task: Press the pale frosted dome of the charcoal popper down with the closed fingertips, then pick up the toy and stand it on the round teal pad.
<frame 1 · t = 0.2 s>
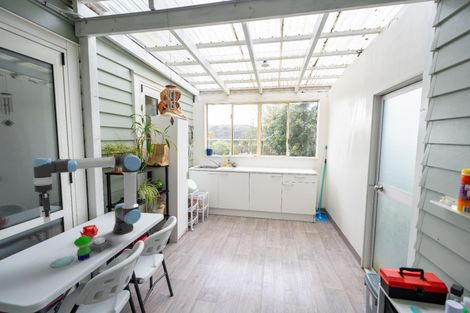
hand: (45, 219, 116), 28 cm above the table, fingers open, 13 cm apart
dome: (99, 241, 136), point 5 cm above the table, slide at 0.0 cm
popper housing: (100, 248, 136), on the table
pad: (63, 262, 120), on the table
toy: (83, 259, 123), on the table
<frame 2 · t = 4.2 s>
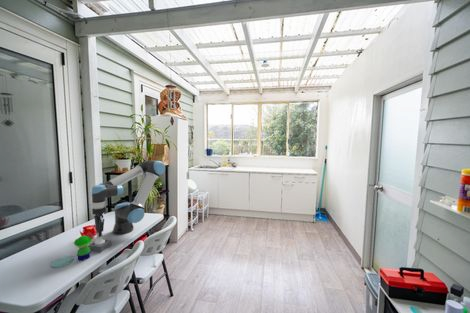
hand: (99, 240, 136), 5 cm above the table, fingers closed
dome: (99, 242, 136), point 4 cm above the table, slide at 1.0 cm, touching gripper
everything else where it was.
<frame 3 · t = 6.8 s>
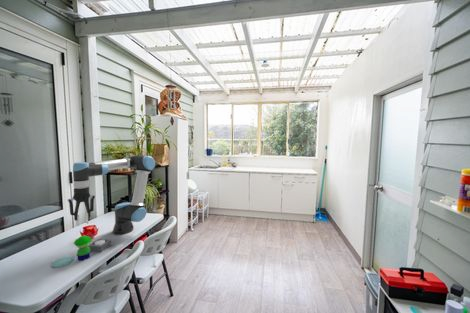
hand: (82, 223, 122), 23 cm above the table, fingers open, 4 cm apart
dome: (100, 244, 136), point 3 cm above the table, slide at 2.0 cm
everything else where it was.
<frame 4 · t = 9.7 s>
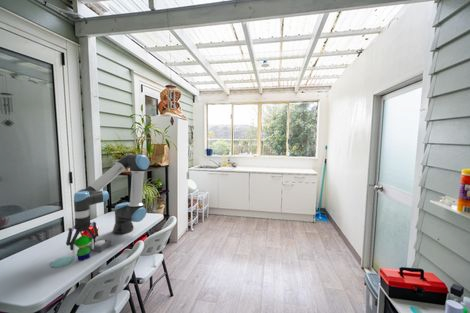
hand: (83, 251, 123), 5 cm above the table, fingers closed on toy, 9 cm apart
toy: (83, 259, 123), on the table, touching gripper
everything else where it was.
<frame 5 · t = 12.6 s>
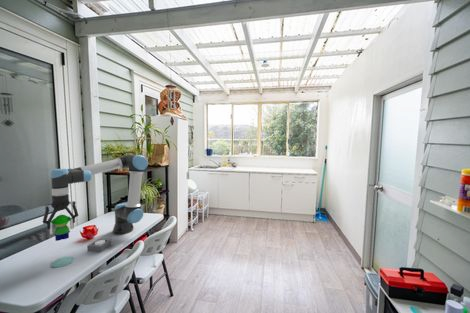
hand: (61, 230, 118), 20 cm above the table, fingers closed on toy, 9 cm apart
toy: (62, 239, 119), point 15 cm above the table, touching gripper
everything else where it was.
when the fingers open (6 cm above the table, at t = 15.4 s): toy stays where it is, resting on pad.
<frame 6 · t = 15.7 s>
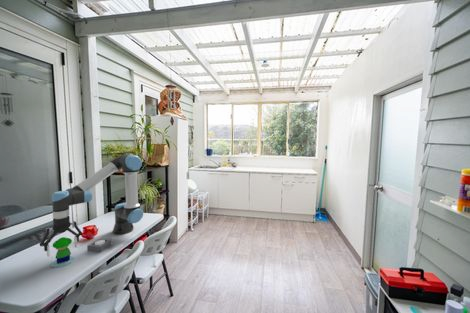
hand: (62, 251, 119), 7 cm above the table, fingers open, 12 cm apart
toy: (63, 261, 120), resting on pad
everything else where it was.
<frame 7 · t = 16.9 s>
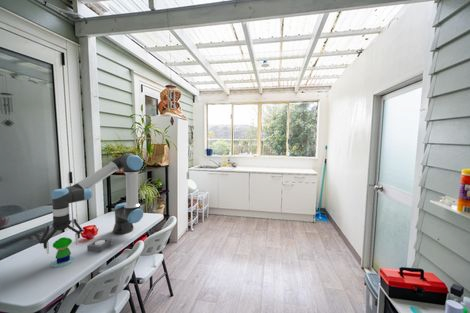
hand: (63, 248, 119), 9 cm above the table, fingers open, 13 cm apart
nothing on the table moved.
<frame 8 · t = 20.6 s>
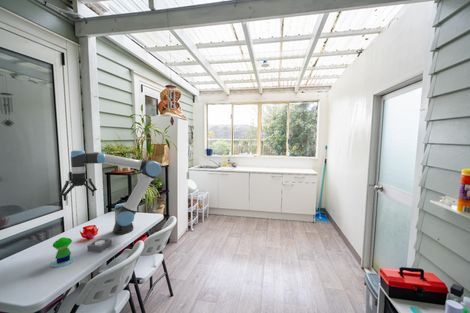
hand: (79, 202, 136), 32 cm above the table, fingers open, 13 cm apart
nothing on the table moved.
at the end: toy 0.1 cm from the pad (horizontally); toy tilted 0°; dome slide at 2.0 cm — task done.
